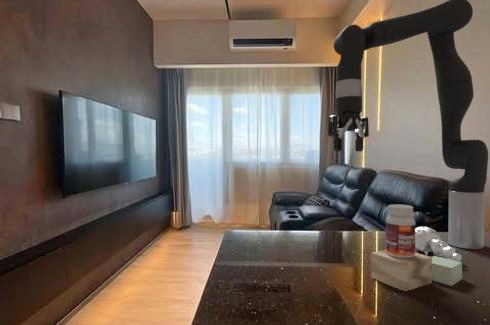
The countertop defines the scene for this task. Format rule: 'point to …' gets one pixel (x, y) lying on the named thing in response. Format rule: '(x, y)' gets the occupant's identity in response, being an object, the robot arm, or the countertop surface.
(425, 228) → the figurine
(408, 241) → the pill bottle
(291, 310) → the countertop surface
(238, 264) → the countertop surface
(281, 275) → the countertop surface
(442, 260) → the sage block
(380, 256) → the oak block
